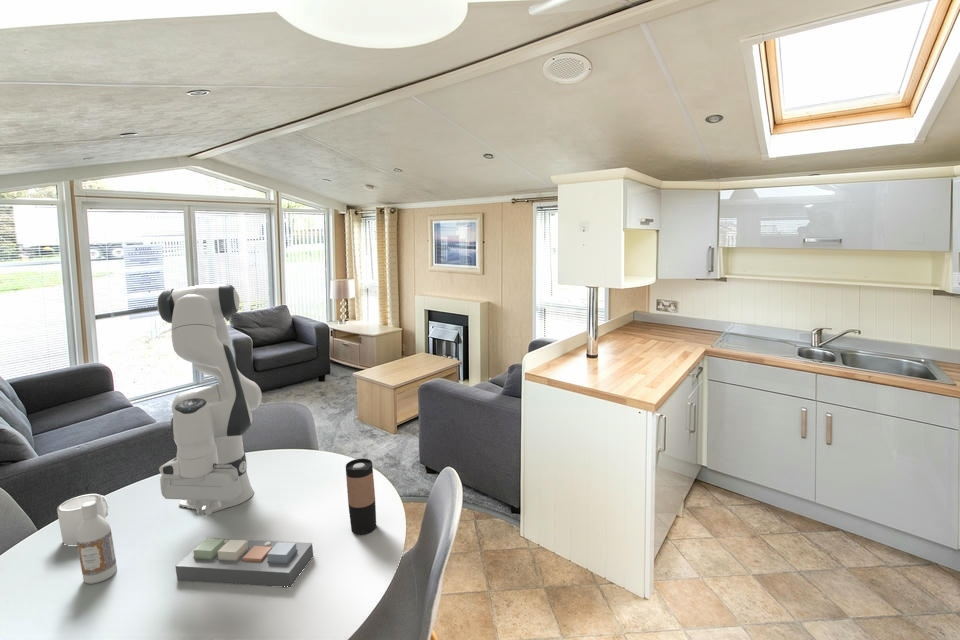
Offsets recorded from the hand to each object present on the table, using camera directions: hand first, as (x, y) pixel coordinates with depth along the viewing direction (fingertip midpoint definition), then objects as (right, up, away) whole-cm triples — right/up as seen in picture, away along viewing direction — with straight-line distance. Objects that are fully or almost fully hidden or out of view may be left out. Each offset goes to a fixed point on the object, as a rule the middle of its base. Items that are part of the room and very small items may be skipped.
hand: (205, 514), depth 127 cm
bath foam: (-27, -16, 0) cm, 31 cm away
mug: (-45, -14, +20) cm, 51 cm away
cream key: (+7, -12, +1) cm, 14 cm away
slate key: (+21, -12, -1) cm, 24 cm away
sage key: (0, -12, +2) cm, 13 cm away
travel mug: (+37, -11, +17) cm, 42 cm away
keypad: (+11, -14, +1) cm, 18 cm away
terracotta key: (+14, -14, 0) cm, 19 cm away
